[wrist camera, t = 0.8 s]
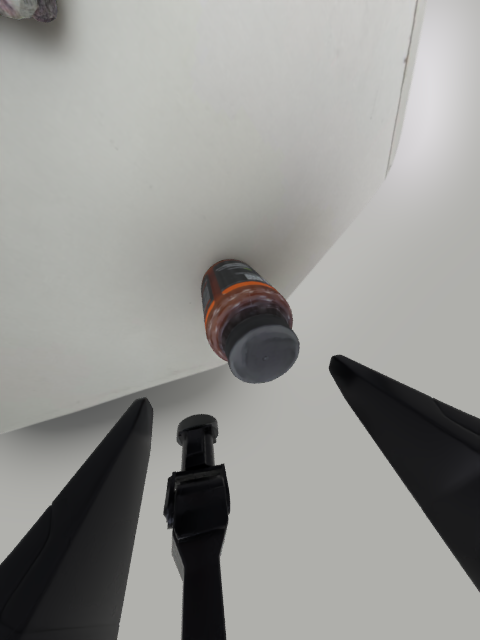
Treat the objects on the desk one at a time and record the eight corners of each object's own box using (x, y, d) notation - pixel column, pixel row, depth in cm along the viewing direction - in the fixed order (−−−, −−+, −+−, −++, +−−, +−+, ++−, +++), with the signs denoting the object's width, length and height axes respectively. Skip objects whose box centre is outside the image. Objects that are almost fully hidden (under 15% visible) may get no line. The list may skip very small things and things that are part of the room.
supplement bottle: (213, 319, 20) (228, 409, 11) (191, 269, 17) (185, 336, 8) (262, 300, 21) (319, 374, 11) (248, 248, 17) (313, 289, 8)
